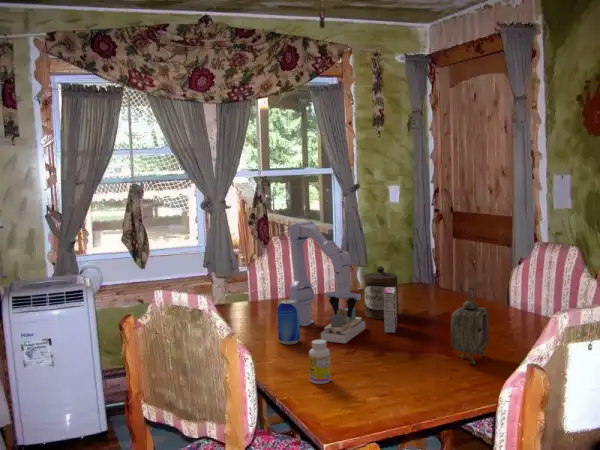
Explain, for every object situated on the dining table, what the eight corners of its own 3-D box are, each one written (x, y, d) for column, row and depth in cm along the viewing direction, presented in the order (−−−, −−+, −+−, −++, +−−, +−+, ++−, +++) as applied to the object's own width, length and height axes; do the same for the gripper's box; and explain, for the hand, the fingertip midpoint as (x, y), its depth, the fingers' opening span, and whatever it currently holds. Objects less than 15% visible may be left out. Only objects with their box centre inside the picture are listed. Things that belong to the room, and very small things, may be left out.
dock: (321, 340, 242) (320, 332, 241) (342, 326, 261) (342, 319, 261) (345, 343, 237) (344, 335, 237) (365, 328, 257) (365, 321, 257)
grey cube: (331, 326, 243) (331, 316, 243) (335, 323, 247) (335, 314, 246) (340, 327, 241) (340, 317, 241) (344, 324, 245) (344, 314, 244)
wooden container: (360, 318, 274) (359, 268, 272) (369, 310, 288) (369, 263, 286) (393, 320, 269) (393, 270, 266) (401, 312, 282) (401, 264, 280)
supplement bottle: (308, 378, 201) (307, 339, 199) (329, 376, 201) (328, 337, 200) (310, 385, 194) (309, 345, 193) (332, 384, 195) (331, 343, 193)
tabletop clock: (476, 367, 206) (476, 292, 203) (449, 363, 211) (449, 290, 208) (488, 355, 218) (488, 284, 215) (463, 351, 223) (462, 282, 220)
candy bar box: (385, 325, 261) (384, 287, 259) (397, 326, 260) (396, 287, 258) (383, 333, 250) (382, 292, 248) (396, 333, 249) (395, 292, 247)
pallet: (324, 332, 242) (324, 314, 241) (343, 320, 259) (342, 304, 258) (343, 334, 239) (343, 316, 238) (361, 322, 256) (361, 305, 255)
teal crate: (342, 319, 253) (342, 310, 252) (346, 317, 256) (345, 307, 256) (351, 320, 251) (351, 310, 251) (355, 318, 255) (355, 308, 254)
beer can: (303, 339, 244) (301, 299, 243) (295, 345, 236) (294, 304, 235) (282, 338, 247) (281, 298, 245) (275, 344, 239) (273, 303, 238)
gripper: (321, 283, 247) (322, 317, 248) (356, 285, 240) (356, 320, 242) (328, 280, 253) (329, 313, 255) (362, 282, 247) (363, 316, 248)
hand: (343, 316), depth 249 cm, fingers open, 5 cm apart
